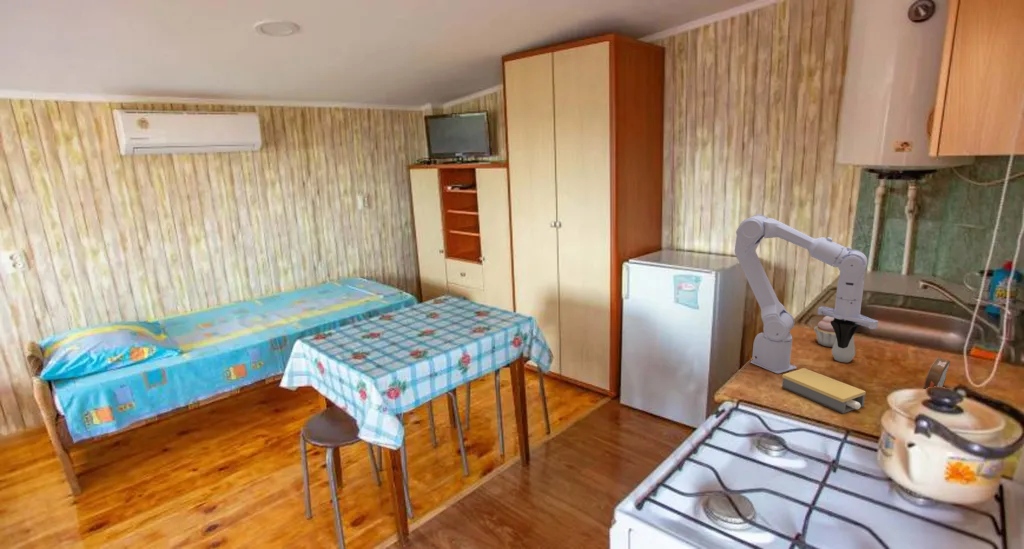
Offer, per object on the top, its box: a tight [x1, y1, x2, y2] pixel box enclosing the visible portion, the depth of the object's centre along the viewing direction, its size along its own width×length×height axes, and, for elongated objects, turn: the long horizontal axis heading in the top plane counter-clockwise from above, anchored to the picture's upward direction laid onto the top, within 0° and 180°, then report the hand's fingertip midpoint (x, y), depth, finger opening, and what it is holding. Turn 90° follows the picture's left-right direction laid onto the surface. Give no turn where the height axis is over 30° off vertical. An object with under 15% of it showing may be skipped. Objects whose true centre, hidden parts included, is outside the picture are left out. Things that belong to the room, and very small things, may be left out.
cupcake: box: [814, 315, 836, 348], centre depth 164 cm, size 9×9×10 cm
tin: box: [922, 356, 951, 390], centre depth 131 cm, size 15×3×8 cm, turn 133°
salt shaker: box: [831, 334, 856, 364], centre depth 152 cm, size 6×6×13 cm
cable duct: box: [781, 378, 866, 414], centre depth 131 cm, size 18×8×3 cm, turn 26°
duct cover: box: [782, 367, 867, 402], centre depth 130 cm, size 16×8×1 cm, turn 26°
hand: (842, 347), depth 138 cm, fingers closed
